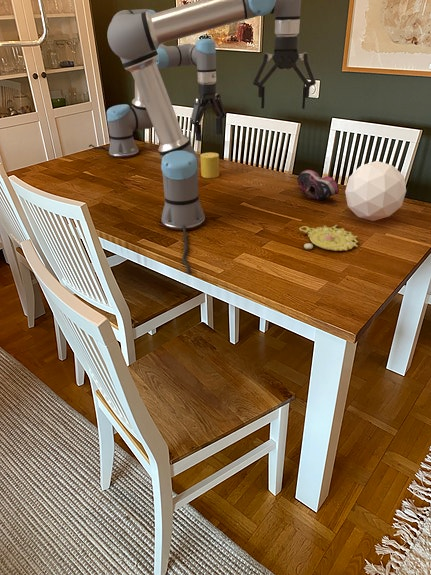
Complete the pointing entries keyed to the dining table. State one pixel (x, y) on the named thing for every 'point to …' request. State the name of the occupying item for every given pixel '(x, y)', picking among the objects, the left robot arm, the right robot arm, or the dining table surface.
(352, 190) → the sphere
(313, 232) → the decorative object
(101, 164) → the dining table surface
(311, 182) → the athletic shoe
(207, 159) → the can
